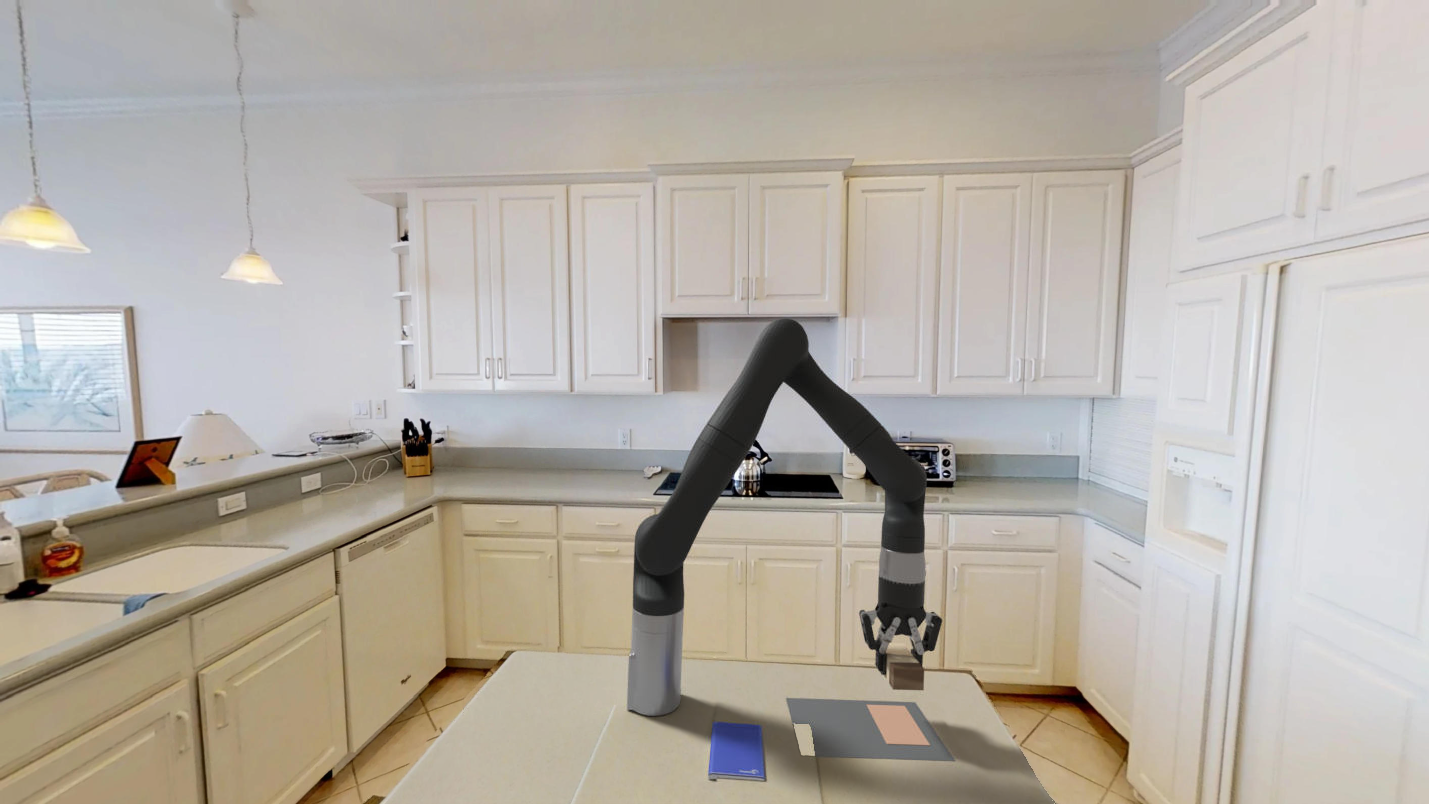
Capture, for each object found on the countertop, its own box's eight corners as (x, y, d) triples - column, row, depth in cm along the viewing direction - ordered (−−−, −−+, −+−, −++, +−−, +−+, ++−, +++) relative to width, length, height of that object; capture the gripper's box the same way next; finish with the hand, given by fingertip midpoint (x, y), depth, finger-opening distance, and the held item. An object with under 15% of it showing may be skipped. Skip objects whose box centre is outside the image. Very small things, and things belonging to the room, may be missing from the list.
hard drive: (765, 776, 75) (761, 724, 88) (708, 772, 76) (712, 720, 88) (764, 787, 75) (761, 734, 88) (707, 783, 76) (712, 730, 88)
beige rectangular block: (875, 662, 95) (876, 642, 95) (903, 663, 95) (903, 643, 95) (893, 689, 86) (893, 668, 86) (923, 690, 86) (924, 669, 86)
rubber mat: (800, 758, 81) (800, 755, 81) (785, 700, 97) (785, 697, 97) (955, 763, 81) (955, 760, 81) (915, 704, 97) (915, 701, 97)
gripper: (933, 568, 94) (930, 663, 94) (854, 566, 94) (850, 661, 94) (953, 583, 87) (949, 686, 87) (866, 580, 87) (863, 683, 87)
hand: (898, 672), depth 90 cm, fingers closed on beige rectangular block, 5 cm apart
